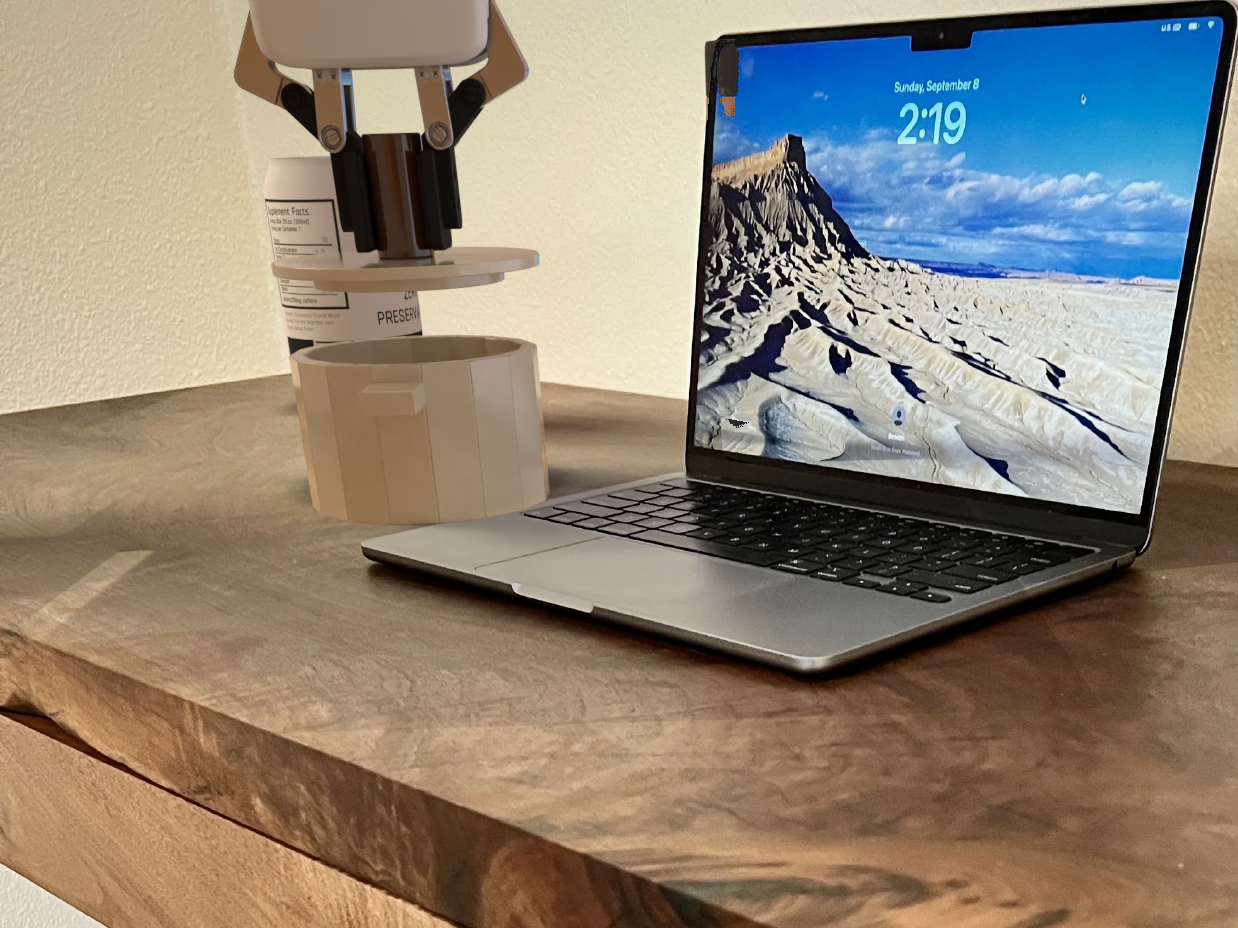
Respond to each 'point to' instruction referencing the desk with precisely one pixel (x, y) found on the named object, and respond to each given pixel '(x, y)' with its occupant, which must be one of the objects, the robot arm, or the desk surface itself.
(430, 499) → the pot
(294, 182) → the supplement can
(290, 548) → the desk surface
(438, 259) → the lid
